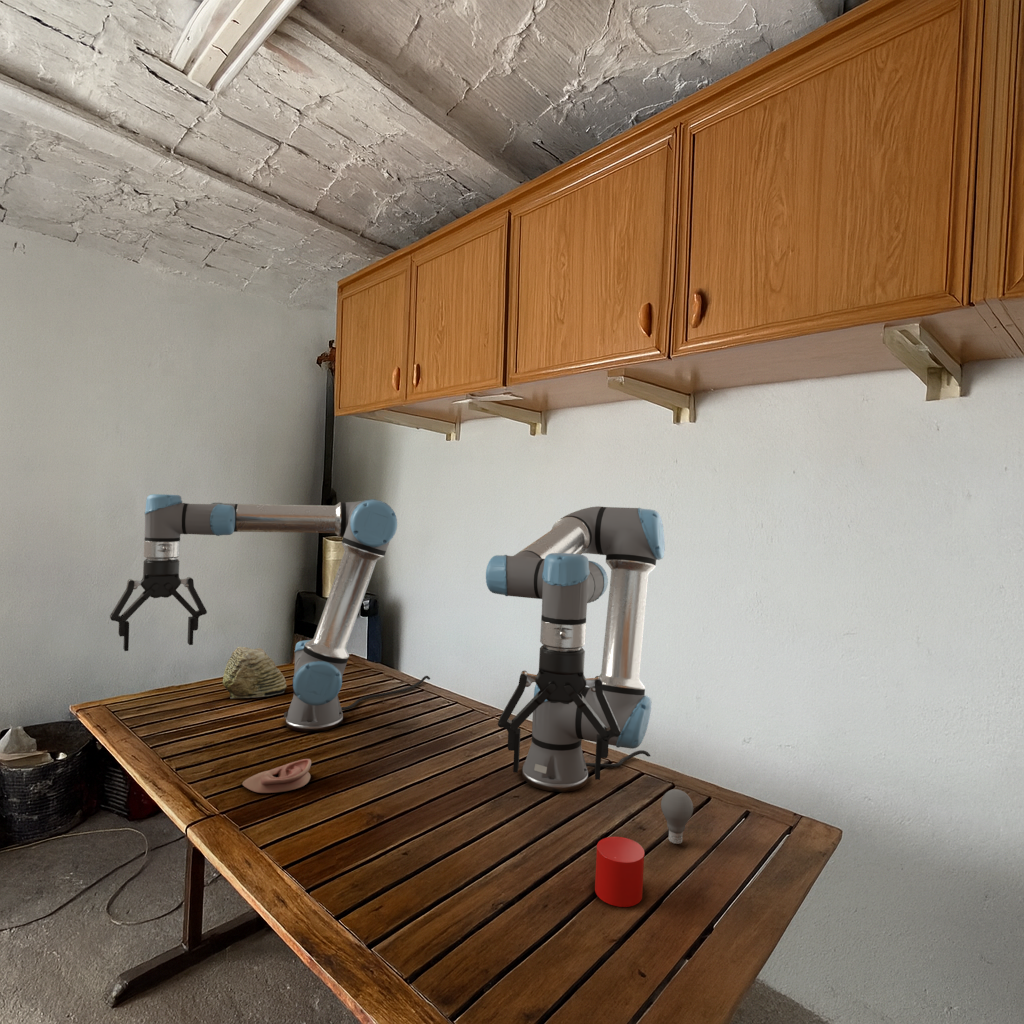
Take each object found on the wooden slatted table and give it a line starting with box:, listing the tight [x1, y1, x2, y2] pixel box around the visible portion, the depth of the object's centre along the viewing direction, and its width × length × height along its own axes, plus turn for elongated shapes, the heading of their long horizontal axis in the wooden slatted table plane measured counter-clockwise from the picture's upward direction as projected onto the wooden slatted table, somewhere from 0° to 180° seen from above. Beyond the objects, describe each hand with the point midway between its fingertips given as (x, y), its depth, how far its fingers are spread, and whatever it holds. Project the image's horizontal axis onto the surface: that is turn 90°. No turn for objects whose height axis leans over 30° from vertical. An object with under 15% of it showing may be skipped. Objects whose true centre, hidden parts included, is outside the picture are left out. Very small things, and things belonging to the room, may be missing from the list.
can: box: [594, 836, 645, 908], centre depth 105 cm, size 8×8×7 cm
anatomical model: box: [241, 758, 312, 794], centre depth 139 cm, size 13×4×12 cm
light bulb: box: [660, 788, 694, 845], centre depth 121 cm, size 6×6×10 cm
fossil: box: [222, 646, 288, 699], centre depth 198 cm, size 9×18×15 cm, turn 132°
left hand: (158, 646), depth 152 cm, fingers open, 13 cm apart
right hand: (556, 772), depth 106 cm, fingers open, 13 cm apart
